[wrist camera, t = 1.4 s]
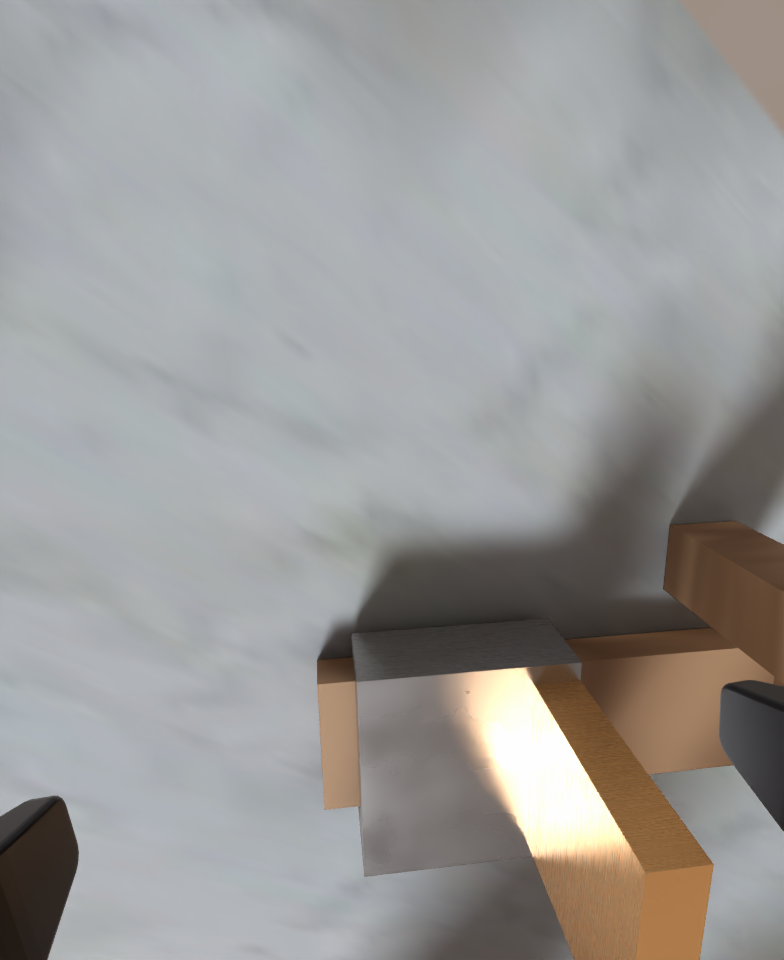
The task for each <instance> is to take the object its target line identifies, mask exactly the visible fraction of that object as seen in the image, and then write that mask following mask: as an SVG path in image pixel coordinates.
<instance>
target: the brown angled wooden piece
mask: <svg viewBox="0 0 784 960" xmlns="http://www.w3.org/2000/svg"><path fill="white" fill-rule="evenodd" d="M663 589H664V590H665V591H666V592H668V593H669V594H670V595H671V596H673V597H674V598H675V599H677V600H678V601H679V602H680V603H682V604H683V605H684V606H685V607H687V608H688V609H689V610H690V611H692V612H693V613H694V614H696V615H697V616H698V617H699V618H701V619H702V620H703V621H704V622H706V623H707V624H708V625H710V626H711V627H712V628H700V629H688V630H676V631H664V632H652V633H640V634H627V635H615V636H603V637H591V638H579V639H566V640H565V641H566V643H567V644H568V645H569V647H570V648H571V649H572V650H573V652H574V653H575V654H576V656H577V657H578V658H579V660H580V661H581V662H582V667H581V682H582V684H583V685H584V686H585V688H586V689H587V691H588V692H589V693H590V695H591V696H592V697H593V699H594V700H595V702H596V703H597V704H598V706H599V707H600V708H601V710H602V711H603V713H604V714H605V715H606V717H607V718H608V720H609V721H610V722H611V724H612V725H613V726H614V728H615V729H616V731H617V732H618V733H619V735H620V736H621V737H622V739H623V740H624V742H625V743H626V744H627V746H628V747H629V748H630V750H631V751H632V753H633V754H634V755H635V757H636V758H637V759H638V761H639V762H640V764H641V765H642V766H643V768H644V769H645V771H646V772H647V773H648V774H656V773H666V772H675V771H684V770H693V769H702V768H711V767H721V766H730V765H733V763H732V762H731V761H730V759H729V758H728V757H727V755H726V754H725V752H724V750H723V748H722V746H721V743H720V739H719V713H720V695H721V690H722V688H723V686H724V685H726V684H728V683H733V682H738V681H744V680H756V681H761V682H765V683H770V684H775V685H779V686H784V545H783V544H781V543H779V542H777V541H775V540H773V539H771V538H769V537H767V536H765V535H763V534H761V533H759V532H757V531H755V530H753V529H751V528H749V527H747V526H745V525H743V524H740V523H738V522H736V521H726V522H709V523H693V524H677V525H670V531H669V540H668V550H667V559H666V569H665V578H664V588H663ZM317 685H318V703H319V720H320V737H321V754H322V772H323V789H324V806H325V810H327V809H336V808H345V807H354V806H360V798H359V773H358V748H357V723H356V697H355V675H354V666H353V657H347V658H335V659H322V660H317Z"/></svg>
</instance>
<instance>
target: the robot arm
mask: <svg viewBox="0 0 784 960" xmlns="http://www.w3.org/2000/svg"><path fill="white" fill-rule="evenodd" d="M719 739H720V743H721V746H722V748H723V750H724V752H725V754H726V755H727V757H728V758H729V759H730V761H731V762H732V763H733V765H734V766H735V767H736V769H737V770H738V771H739V773H740V774H741V775H742V777H743V778H744V779H745V781H746V782H747V784H748V785H749V786H750V788H751V789H752V790H753V792H754V793H755V794H756V796H757V797H758V798H759V800H760V801H761V802H762V804H763V805H764V806H765V808H766V809H767V810H768V812H769V813H770V814H771V816H772V817H773V818H774V820H775V821H776V822H777V824H778V825H779V826H780V828H781V829H782V830H783V831H784V686H779V685H775V684H770V683H765V682H761V681H756V680H744V681H738V682H733V683H728V684H726V685H724V686H723V688H722V690H721V695H720V713H719ZM78 857H79V851H78V844H77V840H76V837H75V834H74V830H73V827H72V823H71V820H70V817H69V813H68V810H67V807H66V804H65V802H64V800H63V799H62V798H61V797H59V796H50V797H44V798H38V799H31V800H28V801H26V802H24V803H22V804H20V805H19V806H17V807H15V808H14V809H12V810H10V811H9V812H7V813H5V814H4V815H2V816H0V960H47V959H48V956H49V953H50V950H51V947H52V944H53V941H54V938H55V935H56V932H57V929H58V926H59V923H60V920H61V916H62V913H63V910H64V907H65V904H66V901H67V898H68V895H69V892H70V889H71V886H72V883H73V880H74V877H75V873H76V870H77V866H78Z"/></svg>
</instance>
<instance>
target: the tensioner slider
mask: <svg viewBox="0 0 784 960" xmlns="http://www.w3.org/2000/svg"><path fill="white" fill-rule="evenodd" d="M351 637H352V657H353V666H354V675H355V697H356V723H357V748H358V773H359V798H360V806H358V810H359V821H360V832H361V844H362V855H363V866H364V877H366V876H375V875H383V874H391V873H399V872H407V871H416V870H424V869H432V868H440V867H448V866H456V865H465V864H473V863H481V862H489V861H497V860H506V859H514V858H522V857H530V856H533V858H534V861H535V863H536V866H537V868H538V870H539V873H540V875H541V878H542V880H543V883H544V885H545V888H546V890H547V893H548V895H549V898H550V900H551V903H552V905H553V908H554V910H555V913H556V915H557V918H558V920H559V923H560V925H561V928H562V930H563V933H564V935H565V938H566V940H567V943H568V945H569V947H570V950H571V952H572V955H573V957H574V960H700V953H701V946H702V939H703V933H704V926H705V919H706V912H707V906H708V899H709V892H710V885H711V879H712V872H713V865H714V864H713V863H712V861H711V860H710V859H709V857H708V856H707V855H706V853H705V852H704V850H703V849H702V848H701V846H700V845H699V844H698V842H697V841H696V839H695V838H694V837H693V835H692V834H691V833H690V831H689V830H688V828H687V827H686V826H685V824H684V823H683V822H682V820H681V819H680V817H679V816H678V815H677V813H676V812H675V810H674V809H673V808H672V806H671V805H670V804H669V802H668V801H667V799H666V798H665V797H664V795H663V794H662V793H661V791H660V790H659V788H658V787H657V786H656V784H655V783H654V782H653V780H652V779H651V777H650V776H649V775H648V773H647V772H646V771H645V769H644V768H643V766H642V765H641V764H640V762H639V761H638V759H637V758H636V757H635V755H634V754H633V753H632V751H631V750H630V748H629V747H628V746H627V744H626V743H625V742H624V740H623V739H622V737H621V736H620V735H619V733H618V732H617V731H616V729H615V728H614V726H613V725H612V724H611V722H610V721H609V720H608V718H607V717H606V715H605V714H604V713H603V711H602V710H601V708H600V707H599V706H598V704H597V703H596V702H595V700H594V699H593V697H592V696H591V695H590V693H589V692H588V691H587V689H586V688H585V686H584V685H583V684H582V682H581V667H582V662H581V661H580V660H579V658H578V657H577V656H576V654H575V653H574V652H573V650H572V649H571V648H570V647H569V645H568V644H567V643H566V641H565V640H564V639H563V637H562V636H561V635H560V634H559V632H558V631H557V630H556V628H555V627H554V626H553V624H552V623H551V622H550V620H549V619H548V618H546V619H533V620H520V621H507V622H494V623H481V624H469V625H456V626H443V627H430V628H417V629H404V630H391V631H379V632H366V633H353V634H351Z"/></svg>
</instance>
